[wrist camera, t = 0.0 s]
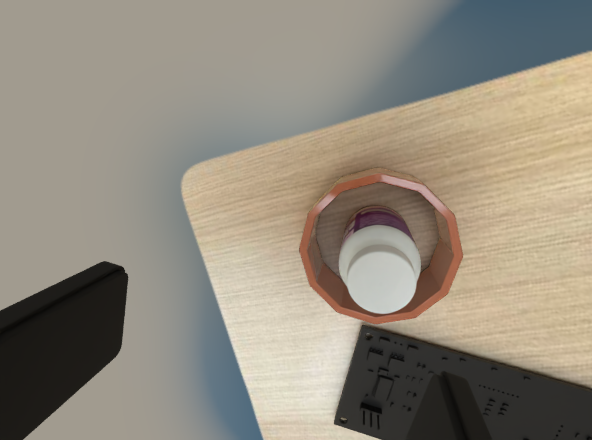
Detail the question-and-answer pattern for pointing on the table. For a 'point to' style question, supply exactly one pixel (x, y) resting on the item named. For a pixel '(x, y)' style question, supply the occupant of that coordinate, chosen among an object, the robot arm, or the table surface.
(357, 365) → the circuit board
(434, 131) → the table surface
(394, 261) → the pill bottle
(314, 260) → the terracotta faceted ring
